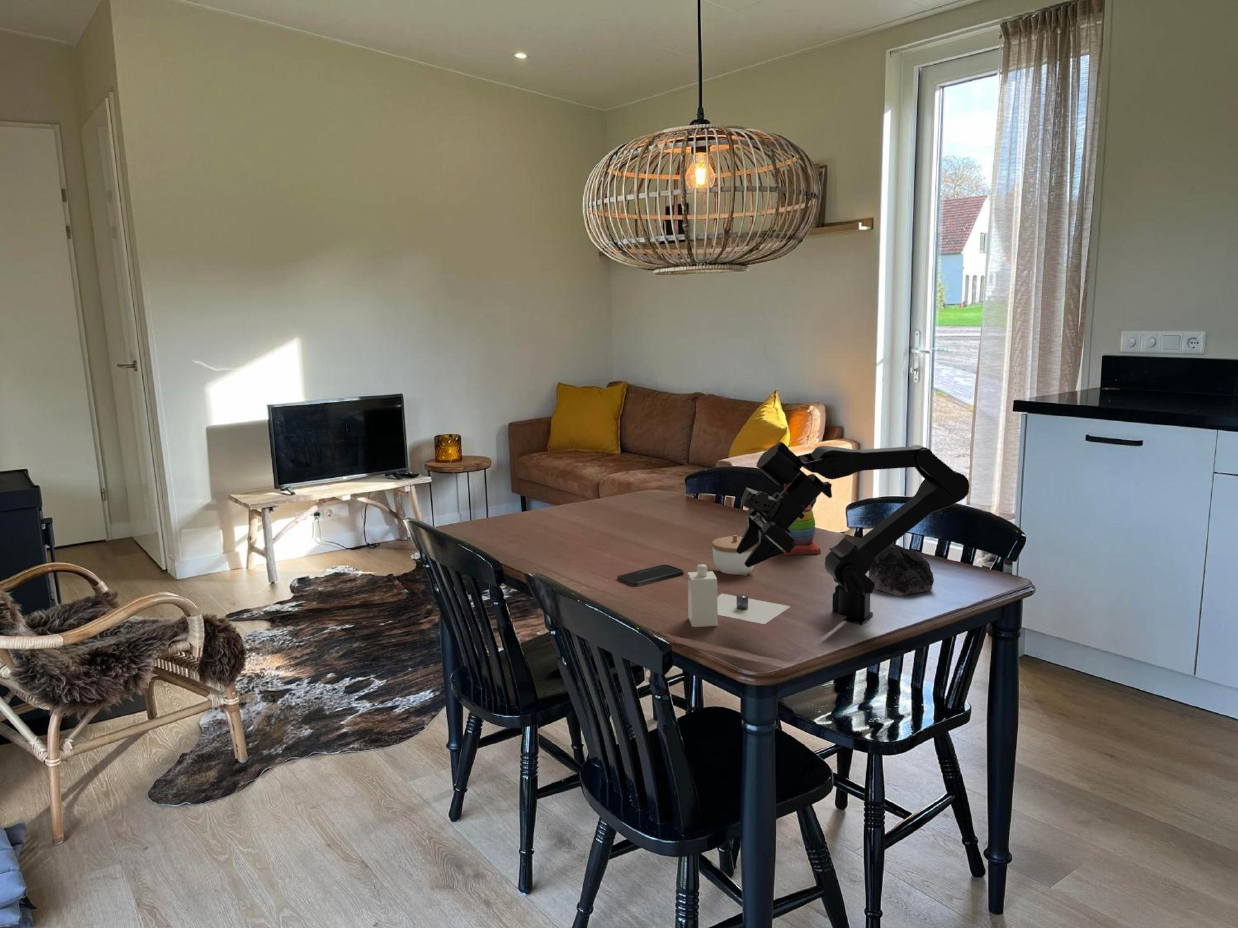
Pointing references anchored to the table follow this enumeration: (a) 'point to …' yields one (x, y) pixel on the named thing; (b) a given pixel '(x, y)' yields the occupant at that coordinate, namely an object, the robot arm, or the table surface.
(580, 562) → the table surface
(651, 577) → the phone
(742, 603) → the metal post
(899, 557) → the dark rough rock
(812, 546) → the stacking bear
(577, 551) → the table surface
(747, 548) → the robot arm
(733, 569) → the lidded jar
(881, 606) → the table surface
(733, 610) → the stone board
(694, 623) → the white knobbed block
